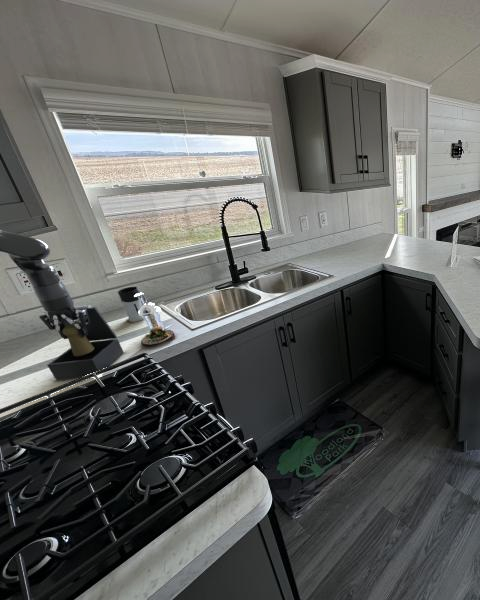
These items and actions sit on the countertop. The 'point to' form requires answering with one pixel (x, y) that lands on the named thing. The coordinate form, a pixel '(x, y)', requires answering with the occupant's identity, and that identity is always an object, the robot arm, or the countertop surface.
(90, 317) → the hatch
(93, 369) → the black hinged lid box
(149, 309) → the cup with straw
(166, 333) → the bowl of salad
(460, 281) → the countertop surface
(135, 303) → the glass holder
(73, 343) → the cork
